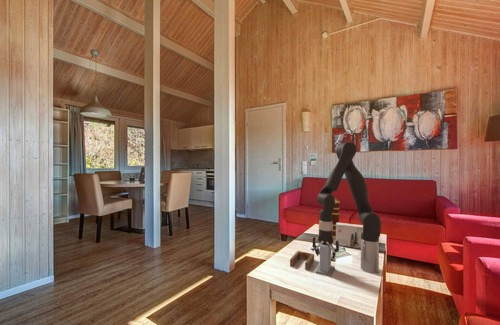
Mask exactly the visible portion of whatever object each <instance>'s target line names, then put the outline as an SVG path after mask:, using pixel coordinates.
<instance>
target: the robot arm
mask: <svg viewBox="0 0 500 325" xmlns="http://www.w3.org/2000/svg"><path fill="white" fill-rule="evenodd" d="M357 149H358V148H357V145H356V144H355V143H354V142H352V141H346V142H343V143H340V144H338V145H337V146H336V149H335V154H336V156H337V159H338V161H337V163H336V165H335V166H334V168H332V170H331V171H330V173H329V175H328V177H327V179H326V182H325V184H324V185H323V187H322V188H321V189H320V191H319V193H318V194H317V197H316V198H317V199H316V201H317V203H318V204H319V205H321V206H323V209H320V211H319V222H318V237H316V236H313V237H312V245H311V247H312V248H314V249H315V255H316V257H318V256H319V257H320V245H321V244H325V245H329V247H330V249H331V260H333V259H335V258H336V256H337V255H336V253H338V252H339V251H340V245H339V241H338V240H336V239H333V224H332V213H333V210H334V206H335V198H336V197H334V195H333V194H332V193H335V192H337V191H338V189H339V186H340V184H341V183H342V182H341V181H342V179H343V176H345V179H346V182H347V185H348V188H349V191H350V194H351V195H352V198H353V200H354V202H355V205H356V208H357V214H358V217H359V218H358V219H359V221H360V223H361V225H363V233H361V248H360V269H361V270H362V271H364V272H367V273H372V274H373V273H374V274H379V272H380V270H379V267H380V262H379V260H380V257H379V256H380V254H379V252H380V251H379V248H380V247H379V246H380V245H379V244H380V237H381V229H382V228H381V226H382V221H381V218H380V215H378V214H377V213H375V212H374V211H373V209H372V207H371V204H370V201H369V190H368V185H367V183H366V180H365V177H364V176H363V174H362V173H361V171H360V170H358V168H357V167H356V166H355V164H354V163H355V162H354V161H353V159H354V157H355V156H356V153H357V151H358V150H357ZM317 241H318V244H317ZM316 244H317V245H316ZM334 245H335V246H334Z"/></svg>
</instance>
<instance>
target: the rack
mask: <svg viewBox="0 0 500 325" xmlns="http://www.w3.org/2000/svg"><path fill="white" fill-rule="evenodd" d="M299 259H301V260H305V262H304V270H306V271H308V270H309V269H310V267H311V266H312V264H313V263H314V261H315V253H311V252H305V251H301V250H297V251H296V252H295V253H294V254H293V255H292V257H290V259H289V266H290V267H291V268H292V267H294V265H295V264H296V263H297V261H298V260H299Z"/></svg>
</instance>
